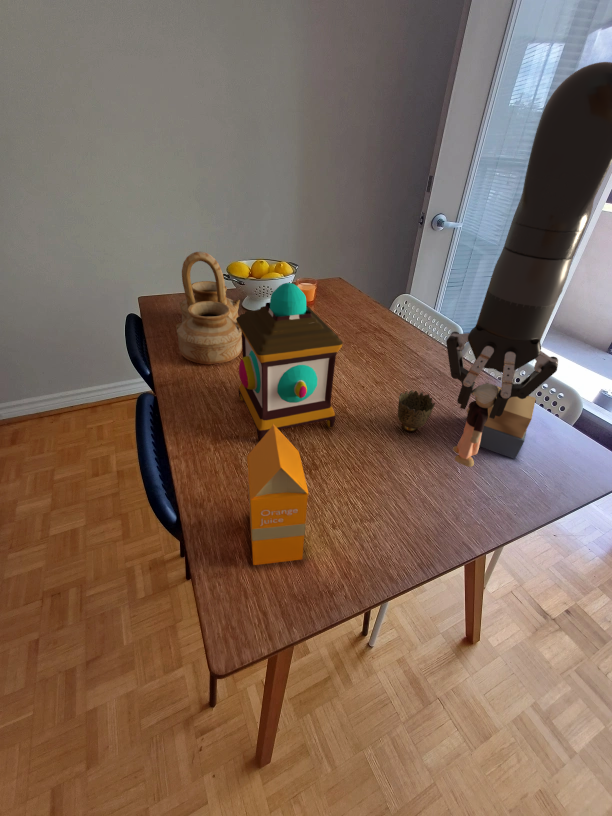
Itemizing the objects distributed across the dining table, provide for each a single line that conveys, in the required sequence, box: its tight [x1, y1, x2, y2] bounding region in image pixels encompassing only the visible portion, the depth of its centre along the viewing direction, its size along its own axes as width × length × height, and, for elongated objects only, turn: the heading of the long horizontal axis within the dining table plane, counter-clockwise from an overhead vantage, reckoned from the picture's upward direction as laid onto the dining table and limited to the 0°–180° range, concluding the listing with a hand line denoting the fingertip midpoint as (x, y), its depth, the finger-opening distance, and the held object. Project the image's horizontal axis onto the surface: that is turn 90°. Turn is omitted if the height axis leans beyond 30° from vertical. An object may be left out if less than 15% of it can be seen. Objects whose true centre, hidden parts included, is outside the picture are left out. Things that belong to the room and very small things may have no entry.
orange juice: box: [246, 424, 310, 566], centre depth 58 cm, size 8×9×20 cm
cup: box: [397, 390, 436, 434], centre depth 86 cm, size 8×7×8 cm
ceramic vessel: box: [175, 251, 242, 365], centre depth 111 cm, size 34×18×25 cm, turn 13°
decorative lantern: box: [236, 282, 344, 442], centre depth 82 cm, size 20×20×30 cm
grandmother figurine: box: [452, 383, 499, 468], centre depth 57 cm, size 8×4×13 cm, turn 178°
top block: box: [484, 385, 537, 438], centre depth 84 cm, size 9×9×5 cm
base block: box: [479, 426, 528, 460], centre depth 87 cm, size 10×10×5 cm
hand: (478, 410), depth 56 cm, fingers closed on grandmother figurine, 3 cm apart
